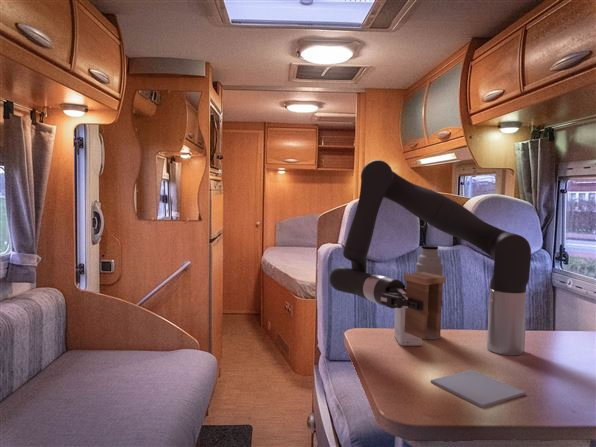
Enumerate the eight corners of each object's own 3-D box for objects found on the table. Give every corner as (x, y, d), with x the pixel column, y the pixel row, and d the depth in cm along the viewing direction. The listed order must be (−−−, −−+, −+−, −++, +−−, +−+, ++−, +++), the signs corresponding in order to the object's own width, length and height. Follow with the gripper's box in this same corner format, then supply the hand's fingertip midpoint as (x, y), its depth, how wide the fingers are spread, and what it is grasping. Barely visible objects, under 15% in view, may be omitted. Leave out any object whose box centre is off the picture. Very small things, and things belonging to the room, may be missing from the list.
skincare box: (421, 346, 129) (423, 292, 128) (398, 345, 129) (400, 292, 128) (414, 337, 137) (416, 287, 136) (392, 336, 137) (394, 286, 136)
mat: (472, 372, 110) (472, 369, 110) (525, 394, 98) (525, 391, 98) (430, 382, 103) (430, 379, 103) (482, 407, 91) (482, 405, 91)
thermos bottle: (438, 332, 143) (442, 244, 141) (441, 340, 135) (445, 247, 133) (412, 330, 144) (416, 243, 143) (413, 338, 136) (417, 246, 135)
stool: (421, 328, 111) (424, 272, 110) (442, 336, 105) (445, 276, 104) (402, 331, 108) (404, 273, 107) (422, 339, 102) (425, 278, 101)
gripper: (362, 278, 115) (409, 291, 100) (405, 274, 122) (454, 286, 107) (361, 307, 115) (407, 324, 100) (404, 302, 122) (453, 317, 108)
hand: (431, 304), depth 104 cm, fingers closed on stool, 5 cm apart
